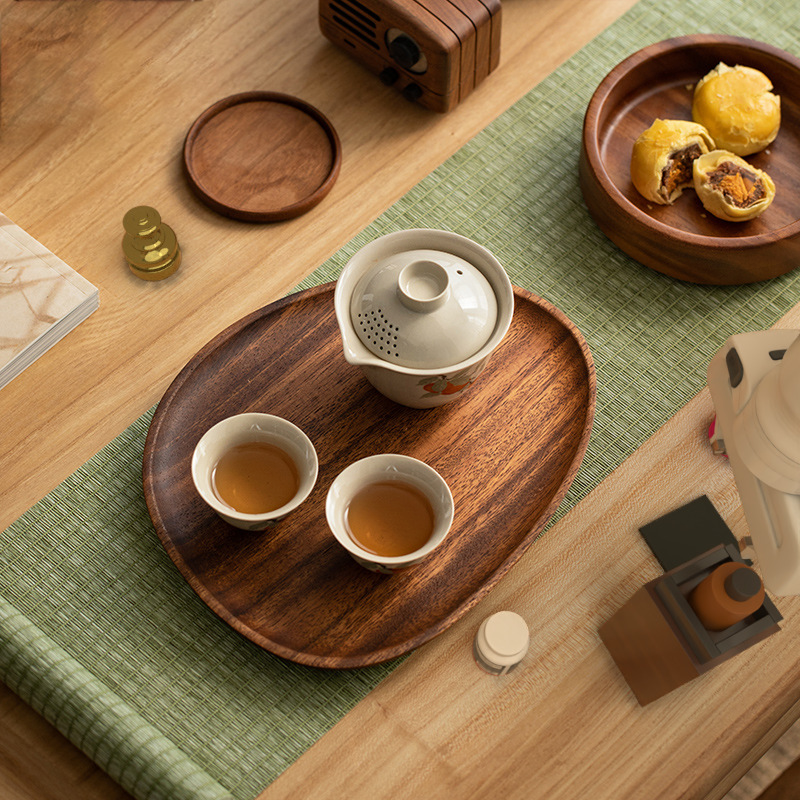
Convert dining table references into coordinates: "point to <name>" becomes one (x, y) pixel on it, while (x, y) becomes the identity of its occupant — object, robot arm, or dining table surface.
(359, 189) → the dining table surface
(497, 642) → the pill bottle
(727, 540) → the slate mat
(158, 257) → the brass knob weight
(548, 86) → the dining table surface
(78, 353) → the dining table surface
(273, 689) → the dining table surface
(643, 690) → the stand
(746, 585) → the amber bottle
